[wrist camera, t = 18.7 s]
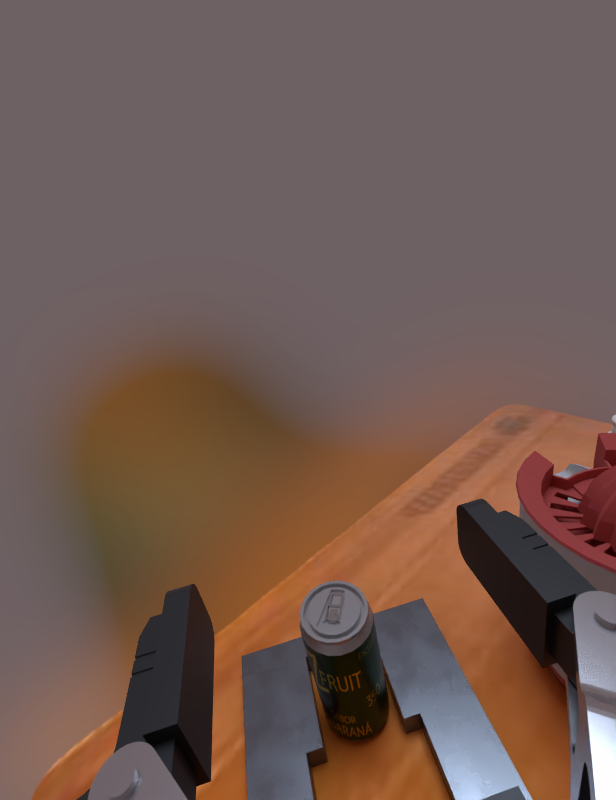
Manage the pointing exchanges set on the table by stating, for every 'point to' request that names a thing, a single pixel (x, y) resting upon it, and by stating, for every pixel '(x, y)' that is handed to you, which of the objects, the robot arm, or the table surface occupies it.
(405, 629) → the keyhole plate
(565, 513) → the citrus juicer
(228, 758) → the table surface
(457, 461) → the table surface
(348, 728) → the green drink can
